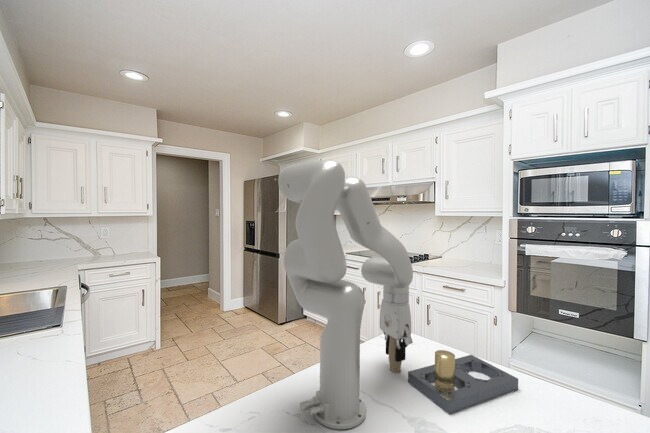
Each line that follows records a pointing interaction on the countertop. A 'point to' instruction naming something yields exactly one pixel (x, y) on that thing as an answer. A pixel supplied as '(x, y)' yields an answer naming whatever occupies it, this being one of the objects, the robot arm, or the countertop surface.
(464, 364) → the bolt plate
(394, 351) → the handle
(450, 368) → the brass pin
